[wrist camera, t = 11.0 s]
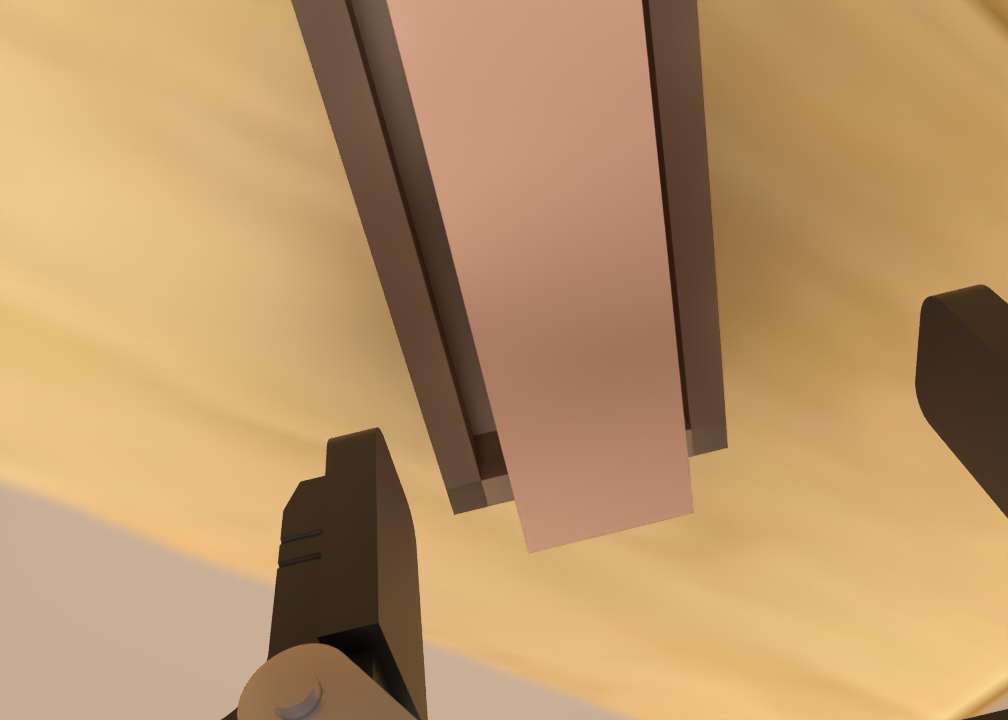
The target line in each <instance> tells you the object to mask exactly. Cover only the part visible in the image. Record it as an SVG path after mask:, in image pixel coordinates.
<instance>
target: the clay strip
mask: <svg viewBox="0 0 1008 720" xmlns="http://www.w3.org/2000/svg"><path fill="white" fill-rule="evenodd" d="M387 4H388V8H389V12H390V16H391V20H392V24H393V28H394V32H395V35H396V39H397V43H398V47H399V51H400V55H401V59H402V63H403V67H404V70H405V74H406V78H407V82H408V86H409V90H410V94H411V98H412V102H413V105H414V109H415V113H416V117H417V121H418V125H419V129H420V133H421V137H422V140H423V144H424V148H425V152H426V156H427V160H428V164H429V168H430V172H431V175H432V179H433V183H434V187H435V191H436V195H437V199H438V203H439V207H440V210H441V214H442V218H443V222H444V226H445V230H446V234H447V238H448V242H449V246H450V249H451V253H452V257H453V261H454V265H455V269H456V273H457V277H458V281H459V284H460V288H461V292H462V296H463V300H464V304H465V308H466V312H467V316H468V319H469V323H470V327H471V331H472V335H473V339H474V343H475V347H476V351H477V354H478V358H479V362H480V366H481V370H482V374H483V378H484V382H485V386H486V389H487V393H488V397H489V401H490V405H491V409H492V413H493V417H494V421H495V424H496V428H497V432H498V436H499V440H500V444H501V448H502V452H503V456H504V460H505V463H506V467H507V471H508V475H509V479H510V483H511V487H512V491H513V495H514V498H515V502H516V506H517V510H518V514H519V518H520V522H521V526H522V530H523V533H524V537H525V541H526V545H527V549H528V553H532V552H536V551H540V550H544V549H549V548H553V547H557V546H561V545H565V544H569V543H573V542H577V541H581V540H585V539H589V538H593V537H598V536H602V535H606V534H610V533H614V532H618V531H622V530H626V529H630V528H634V527H638V526H643V525H647V524H651V523H655V522H659V521H663V520H667V519H671V518H675V517H679V516H683V515H687V514H692V513H694V511H693V501H692V491H691V481H690V471H689V461H688V452H687V442H686V432H685V422H684V412H683V402H682V392H681V382H680V373H679V363H678V353H677V343H676V333H675V323H674V313H673V304H672V294H671V284H670V274H669V264H668V254H667V244H666V234H665V225H664V215H663V205H662V195H661V185H660V175H659V165H658V156H657V146H656V136H655V126H654V116H653V106H652V96H651V87H650V77H649V67H648V57H647V47H646V37H645V27H644V17H643V8H642V0H387Z"/></svg>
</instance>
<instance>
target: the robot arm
mask: <svg viewBox="0 0 1008 720" xmlns="http://www.w3.org/2000/svg"><path fill="white" fill-rule="evenodd" d="M915 387H916V394H917V399H918V402H919V405H920V408H921V410H922V413H923V415H924V417H925V418H926V420H927V421H928V423H929V424H930V425H931V427H932V428H933V429H934V430H935V431H936V433H937V434H938V435H939V436H940V437H941V439H942V440H943V441H944V442H945V443H946V445H947V446H948V447H949V448H950V449H951V451H952V452H953V453H954V454H955V455H956V457H957V458H958V459H959V460H960V461H961V463H962V464H963V465H964V466H965V467H966V469H967V470H968V471H969V472H970V473H971V475H972V476H973V477H974V478H975V479H976V481H977V482H978V483H979V484H980V485H981V487H982V488H983V489H984V490H985V491H986V493H987V494H988V495H989V496H990V497H991V499H992V500H993V501H994V502H995V503H996V505H997V506H998V507H999V508H1000V509H1001V511H1002V512H1003V513H1004V514H1005V515H1006V517H1007V518H1008V304H1007V303H1006V302H1005V301H1004V300H1003V299H1002V298H1000V297H999V296H998V295H997V294H996V293H995V292H993V291H992V290H991V289H990V288H988V287H987V286H985V285H975V286H971V287H967V288H963V289H959V290H954V291H950V292H946V293H942V294H938V295H934V296H929V297H927V298H926V299H925V300H924V302H923V304H922V307H921V314H920V327H919V339H918V352H917V365H916V378H915ZM281 543H282V544H281V545H280V548H279V558H278V564H279V568H278V569H277V577H276V586H275V596H274V605H273V606H274V607H273V615H272V624H271V634H270V643H269V653H268V658H267V662H265V663H264V664H263V665H262V666H261V667H260V668H259V669H258V670H257V671H256V672H255V673H254V674H253V676H252V677H251V678H250V680H249V681H248V683H247V684H246V686H245V687H244V690H243V692H242V694H241V696H240V700H239V704H238V707H237V708H236V709H235V710H234V711H233V712H231V713H230V714H229V715H227V716H226V717H225V718H223V719H222V720H428V717H427V702H426V686H425V671H424V656H423V640H422V625H421V610H420V594H419V579H418V563H417V548H416V538H415V531H414V526H413V521H412V517H411V513H410V509H409V505H408V502H407V499H406V497H405V494H404V491H403V488H402V486H401V483H400V480H399V477H398V475H397V472H396V469H395V466H394V464H393V461H392V458H391V455H390V453H389V450H388V447H387V444H386V442H385V439H384V436H383V434H382V432H381V430H380V429H379V428H378V427H377V428H373V429H369V430H364V431H360V432H356V433H352V434H348V435H344V436H339V437H335V438H331V439H329V440H328V443H327V454H326V473H325V476H322V477H318V478H314V479H310V480H306V481H302V482H300V483H299V485H298V487H297V488H296V490H295V492H294V493H293V495H292V497H291V498H290V500H289V502H288V504H287V505H286V507H285V509H284V510H283V520H282V529H281ZM964 720H1008V709H1006V710H1002V711H997V712H993V713H989V714H985V715H981V716H976V717H972V718H968V719H964Z"/></svg>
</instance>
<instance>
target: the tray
mask: <svg viewBox="0 0 1008 720" xmlns="http://www.w3.org/2000/svg"><path fill="white" fill-rule="evenodd" d="M291 1H292V4H293V7H294V10H295V13H296V17H297V20H298V23H299V26H300V29H301V32H302V36H303V39H304V42H305V45H306V48H307V51H308V54H309V58H310V61H311V64H312V67H313V70H314V73H315V77H316V80H317V83H318V86H319V89H320V92H321V96H322V99H323V102H324V105H325V108H326V111H327V114H328V118H329V121H330V124H331V127H332V130H333V133H334V137H335V140H336V143H337V146H338V149H339V152H340V156H341V159H342V162H343V165H344V168H345V171H346V174H347V178H348V181H349V184H350V187H351V190H352V193H353V197H354V200H355V203H356V206H357V209H358V212H359V216H360V219H361V222H362V225H363V228H364V231H365V234H366V238H367V241H368V244H369V247H370V250H371V253H372V257H373V260H374V263H375V266H376V269H377V272H378V276H379V279H380V282H381V285H382V288H383V291H384V294H385V298H386V301H387V304H388V307H389V310H390V313H391V317H392V320H393V323H394V326H395V329H396V332H397V336H398V339H399V342H400V345H401V348H402V351H403V354H404V358H405V361H406V364H407V367H408V370H409V373H410V377H411V380H412V383H413V386H414V389H415V392H416V396H417V399H418V402H419V405H420V408H421V411H422V414H423V418H424V421H425V424H426V427H427V430H428V433H429V437H430V440H431V443H432V446H433V449H434V452H435V456H436V459H437V462H438V465H439V468H440V471H441V474H442V478H443V481H444V484H445V487H446V490H447V493H448V497H449V500H450V503H451V506H452V509H453V512H454V515H455V514H459V513H463V512H467V511H471V510H476V509H480V508H484V507H488V506H492V505H496V504H500V503H504V502H508V501H512V500H515V498H514V495H513V491H512V487H511V483H510V479H509V475H508V471H507V467H506V463H505V460H504V456H503V452H502V448H501V444H500V440H499V436H498V432H497V428H496V424H495V421H494V417H493V413H492V409H491V405H490V401H489V397H488V393H487V389H486V386H485V382H484V378H483V374H482V370H481V366H480V362H479V358H478V354H477V351H476V347H475V343H474V339H473V335H472V331H471V327H470V323H469V319H468V316H467V312H466V308H465V304H464V300H463V296H462V292H461V288H460V284H459V281H458V277H457V273H456V269H455V265H454V261H453V257H452V253H451V249H450V246H449V242H448V238H447V234H446V230H445V226H444V222H443V218H442V214H441V210H440V207H439V203H438V199H437V195H436V191H435V187H434V183H433V179H432V175H431V172H430V168H429V164H428V160H427V156H426V152H425V148H424V144H423V140H422V137H421V133H420V129H419V125H418V121H417V117H416V113H415V109H414V105H413V102H412V98H411V94H410V90H409V86H408V82H407V78H406V74H405V70H404V67H403V63H402V59H401V55H400V51H399V47H398V43H397V39H396V35H395V32H394V28H393V24H392V20H391V16H390V12H389V8H388V4H387V0H291ZM642 8H643V17H644V27H645V37H646V47H647V57H648V67H649V77H650V87H651V96H652V106H653V116H654V126H655V136H656V146H657V156H658V165H659V175H660V185H661V195H662V205H663V215H664V225H665V234H666V244H667V254H668V264H669V274H670V284H671V294H672V304H673V313H674V323H675V333H676V343H677V353H678V363H679V373H680V382H681V392H682V402H683V412H684V422H685V432H686V442H687V452H688V457H691V456H695V455H700V454H704V453H708V452H712V451H716V450H720V449H724V448H728V444H727V430H726V416H725V401H724V387H723V372H722V358H721V344H720V329H719V315H718V300H717V286H716V272H715V257H714V243H713V228H712V214H711V200H710V185H709V171H708V156H707V142H706V128H705V113H704V99H703V84H702V70H701V56H700V41H699V27H698V12H697V0H642Z"/></svg>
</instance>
